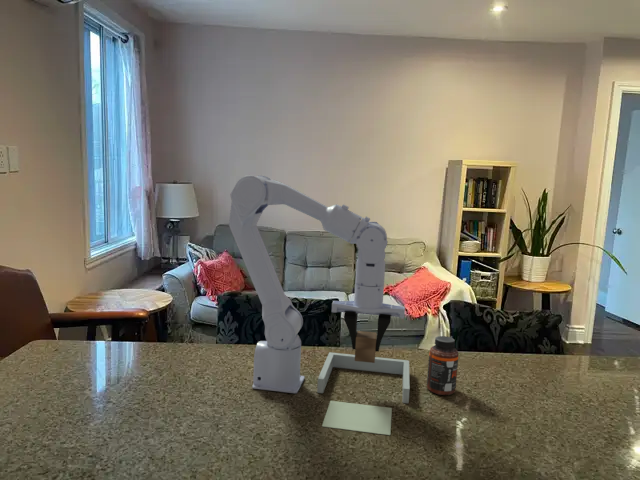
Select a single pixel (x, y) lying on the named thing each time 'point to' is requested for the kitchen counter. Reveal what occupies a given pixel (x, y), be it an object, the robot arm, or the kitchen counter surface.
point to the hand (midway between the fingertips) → (365, 348)
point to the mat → (358, 417)
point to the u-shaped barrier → (379, 366)
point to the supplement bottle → (442, 366)
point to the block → (365, 346)
